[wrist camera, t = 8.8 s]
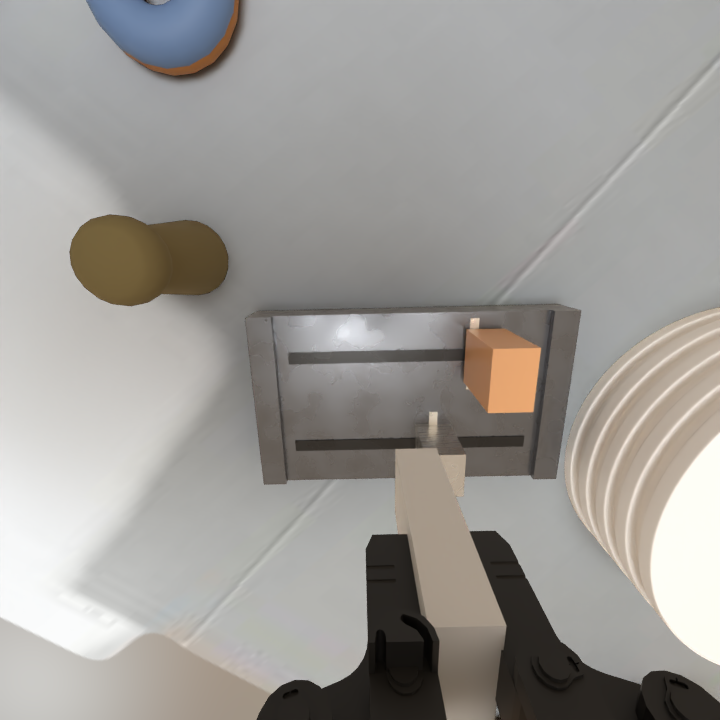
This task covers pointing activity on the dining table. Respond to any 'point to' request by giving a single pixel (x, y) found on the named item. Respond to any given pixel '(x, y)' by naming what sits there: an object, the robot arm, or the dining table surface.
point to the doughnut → (169, 31)
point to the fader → (501, 370)
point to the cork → (146, 259)
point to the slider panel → (401, 391)
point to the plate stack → (658, 473)
